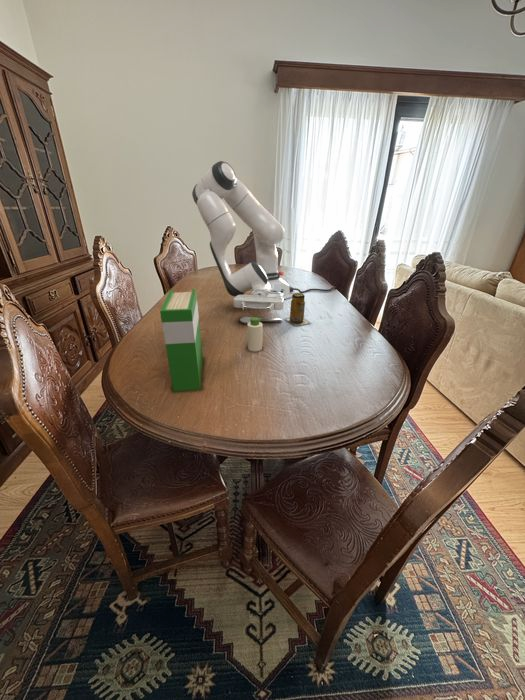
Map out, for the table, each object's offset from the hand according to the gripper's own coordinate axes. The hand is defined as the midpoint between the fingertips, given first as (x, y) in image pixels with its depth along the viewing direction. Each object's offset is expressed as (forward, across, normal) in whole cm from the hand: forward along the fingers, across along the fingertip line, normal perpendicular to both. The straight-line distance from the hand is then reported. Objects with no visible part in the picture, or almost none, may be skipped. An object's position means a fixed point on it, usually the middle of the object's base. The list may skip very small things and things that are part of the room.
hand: (256, 308), depth 109 cm
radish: (+12, +1, +11) cm, 16 cm away
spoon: (-13, +1, +11) cm, 17 cm away
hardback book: (+31, -17, +11) cm, 37 cm away
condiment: (-15, +17, +11) cm, 25 cm away
